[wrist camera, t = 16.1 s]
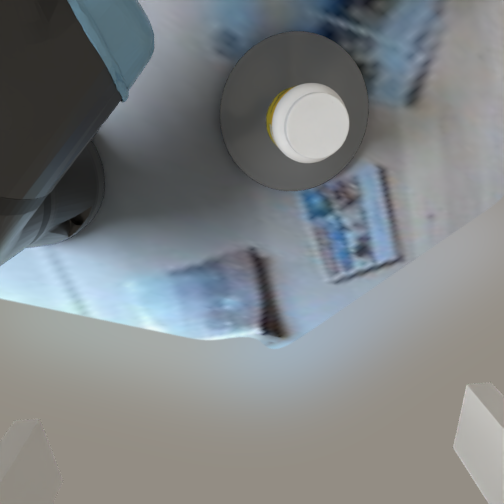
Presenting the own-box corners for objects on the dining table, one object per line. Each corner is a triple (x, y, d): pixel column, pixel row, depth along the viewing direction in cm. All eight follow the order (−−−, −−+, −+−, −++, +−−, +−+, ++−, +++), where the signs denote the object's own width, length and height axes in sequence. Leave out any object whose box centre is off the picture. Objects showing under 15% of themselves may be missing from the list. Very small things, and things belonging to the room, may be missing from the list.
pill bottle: (311, 74, 35) (343, 62, 25) (334, 134, 37) (372, 145, 27) (253, 105, 36) (262, 106, 26) (280, 162, 38) (297, 183, 28)
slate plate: (226, 192, 41) (226, 195, 39) (213, 38, 35) (212, 35, 33) (359, 183, 41) (363, 186, 39) (368, 29, 35) (373, 26, 34)
